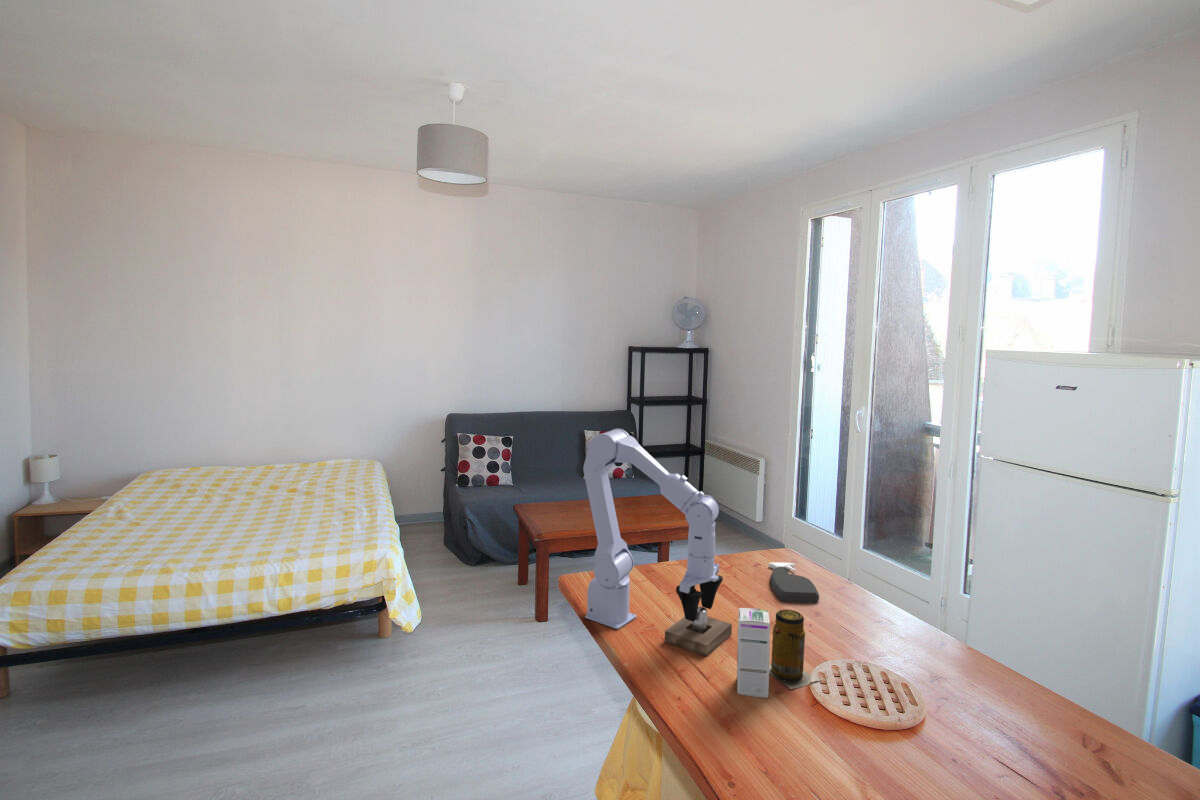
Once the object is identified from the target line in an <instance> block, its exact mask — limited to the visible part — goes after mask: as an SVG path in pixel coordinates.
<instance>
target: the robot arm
mask: <svg viewBox="0 0 1200 800" xmlns="http://www.w3.org/2000/svg"><path fill="white" fill-rule="evenodd" d="M586 450H587V452H586V456H585V460H584V463H583V475H584V479H585V485H586V490H587V495H588V500H589V505H590V509H591V516H592V520H593V521H592V522H593V525H594V529H595V535H596V539H597V546H596V549H595V552H594V561H595V562H594V568H593V576H594V577H593V578H592V579H591V580H590V582H589V584H588V587H587V593H586V595H587V598H586V599H587V601H586V602H587V605H586V607H587V608H586V609H587V611H586V612H587V613H586V614H585V616H584V618H585V619H588V620H590V621H593V622H596V623H598V624H602V625H604V626H607V627H610V628H612V629H615V630H619V629H621V628H622V627H623V626H625V625H627V624H629V623H630V622H632V621H634V619H636V618H637V614H635V613H631V612H630V584H631V583H630V581H631V579H630V572H632V571H633V569H634V566H635V560H634V557H633V555H632V554H631V552H630V550H629V548H628V543H627V542H626V541H625V540H624V539H623V538H622V537H621V532H620V528H619V522H618V517H617V512H616V508H615V503H614V499H613V498H614V497H613V493H612V487H611V483H610V477H609V471H610V469H611V468H612V466H614V464H615V463H620V464H621V463H624V464H625V463H626V464H632V465H633V466H635V468H637V469H638V470H639V471H641V472H642V473H643V474H644V475H646V476H648V477H649V479H651V480H652V481H654V482H655V483H657V485H659V488H660V489H659V490H660V494H661V495H662V496H663V497H664V498H666V499H667V500H668V501H669V502H670V503H671V504H672V505H674V506H675V507H676V508H677V509H678V510H679V511H680V512H681V513H682V514H684V517H685V520H686V523H688V525H689V526H688V532H687V533H688V534H687V535H688V536H687V537H688V538H687V562H686V563H687V564H686V565H687V567H686V571H685V573H684V576H683V578H682V580H680V581H679V584H678V585H677V586H676V587H675V592H676V594H677V596H678V598H679V600H680V602H681V606H682V609H683V613H684V614H683V615H684V617H685V619H687V620H690V621H693V622H694V621H695V620H696V617H697V610H698V607H699V604H700V603H701V607H703V608H706V609H707V610H711V609H712V607H713V605H714V601H715V598H716V595H717V592H718V589H719V588H720V585H721V583H722V582H723V581H724V579H723V578H724V577H723V576H722V575H719V573H720V564H719V563H715V555H716V554H715V553H716V552H715V551H716V521H715V520H716V519H718V516H719V513H720V507H719V503H718V502H717V501H716V500H715V498H714V497H713V496H711V495H707V494H705V493H704V492H703V491H702V490H701V491H699V490H698V489H697V488H695V486H693V485H692V484H691V483H690V482H688V477H686V475H684V474H683V475H680V474H679V473H670V472H669V471H668V470H667V469H665V467H663V466H662V465H661V464H660V463H659V461H657V460H656V459H655V458H654V457H653V456H652V455H651V454H649V452H648V451H647V450H646V449H644V448H643V447H642V446H641V444H639V442H638V441H637V439H636V438H635V437H633V435H630V434H629V433H628V432H627V431H626V430H624V429H622V428H614V429H611V430H609V431H606V432H603V433H599V434H596V435H595V436H594V437H592V439H591V440H590V441H589V442H588V444H587V445H586ZM697 585H699V590H700V591H699V590H697V588H696V587H697Z"/></svg>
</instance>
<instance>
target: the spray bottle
mask: <svg viewBox="0 0 1200 800" xmlns="http://www.w3.org/2000/svg"><path fill="white" fill-rule="evenodd" d="M768 567H769V568H770V569H773V570H772V571H771V573H770V579H769V581H770V584H771V588H772V590H773V592H774V593H775V595H776V597H778V599H779V600H780V601H782V602H784V603H796V604H797V603H798V604H799V603H801V604H816V603H818V601H819V600H820V594H819V591H818V590H817V587H816V586H815V584H814V583H813V582H812V580H810V579H809V578H807V577H805V576H803V575H797V574H793V573H789V570H790V571H793V572H797V569H795V567H796V563H795V562H794V563H793V562H779V561H777V562H774V561H773V562H769V563H768Z"/></svg>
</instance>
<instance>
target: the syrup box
mask: <svg viewBox="0 0 1200 800" xmlns="http://www.w3.org/2000/svg"><path fill="white" fill-rule="evenodd" d="M769 613H770V611H769V610H767V609H761V608H753V607H739V608H738V617H737V619H738V620H737V621H738V622H737V654H736V655H737V657H736V658H737V659H736V661H737V664H736V666H737V667H736V668H737V669H736V689H737V690H736V693H737V695H741V696H749V697H754V698H755V697H756V698H763V699H768V698H769V689H770V688H769V683H770V674H769V665H770V655H771V654H770V646H771V644H770V643H771V641H770V640H771V639H770V636H771V632H770V631H771V624H770V623H771V621H770V614H769Z"/></svg>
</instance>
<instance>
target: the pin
mask: <svg viewBox="0 0 1200 800" xmlns="http://www.w3.org/2000/svg"><path fill="white" fill-rule="evenodd" d="M707 616H708V608H705V607H702V606H698V610H697V617H696V620H695V621H694V622H693V621H692V631H695V632H698V633H701V634H704V633H705V632H706V631H707Z"/></svg>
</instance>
